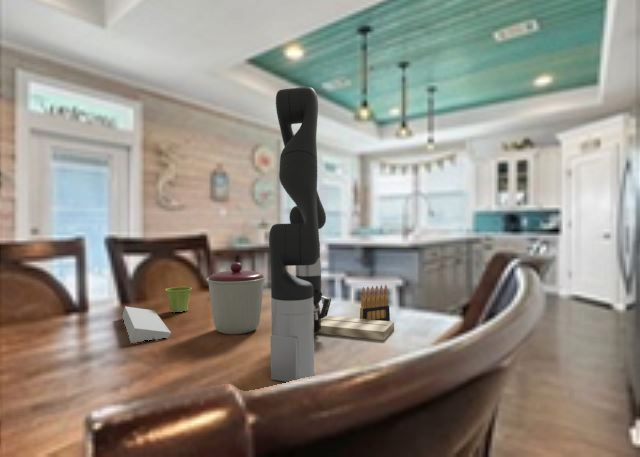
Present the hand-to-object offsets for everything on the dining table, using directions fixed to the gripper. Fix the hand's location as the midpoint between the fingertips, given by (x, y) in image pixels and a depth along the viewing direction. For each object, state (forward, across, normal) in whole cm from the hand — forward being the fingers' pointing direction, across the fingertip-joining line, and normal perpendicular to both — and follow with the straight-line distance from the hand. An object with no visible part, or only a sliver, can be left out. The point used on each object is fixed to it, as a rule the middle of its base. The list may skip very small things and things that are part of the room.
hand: (309, 330), depth 121 cm
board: (+1, +8, +9) cm, 12 cm away
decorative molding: (+2, -53, -12) cm, 54 cm away
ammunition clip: (+1, +14, +22) cm, 26 cm away
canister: (+1, -23, -3) cm, 23 cm away
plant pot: (+1, -59, +11) cm, 60 cm away
